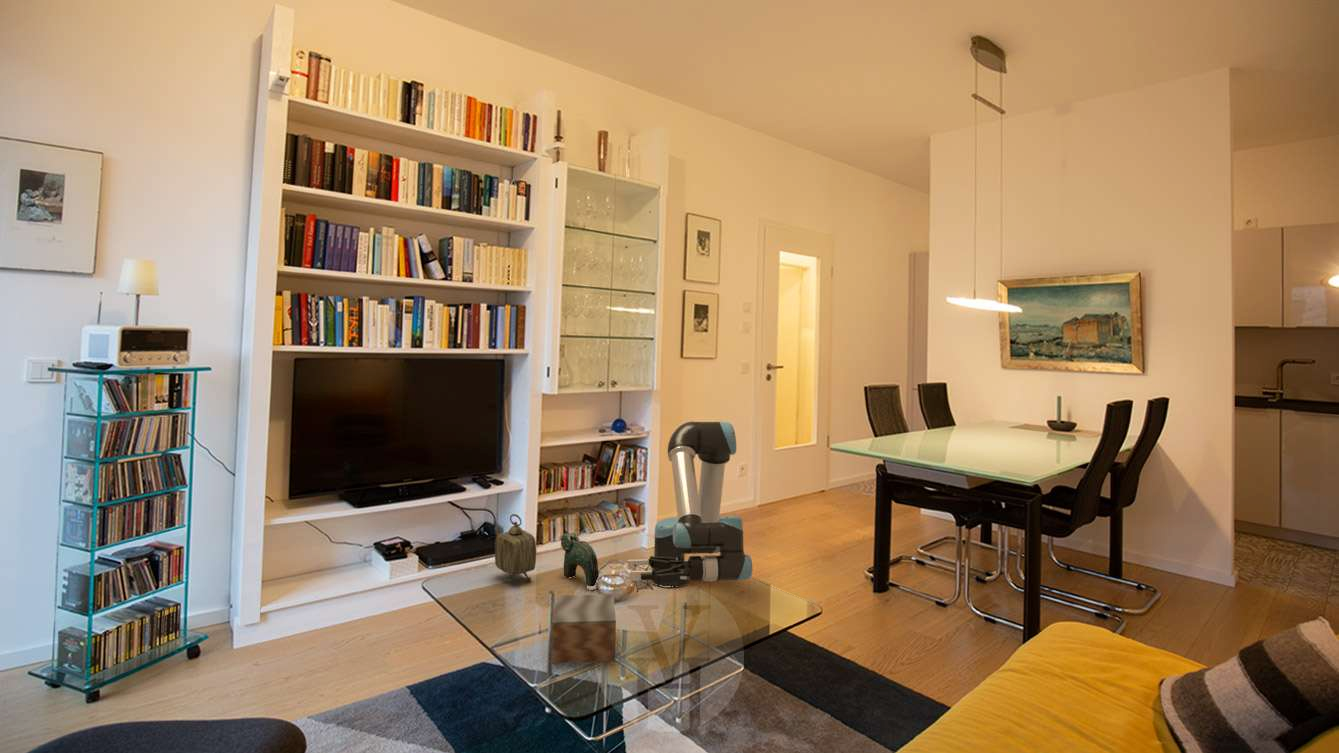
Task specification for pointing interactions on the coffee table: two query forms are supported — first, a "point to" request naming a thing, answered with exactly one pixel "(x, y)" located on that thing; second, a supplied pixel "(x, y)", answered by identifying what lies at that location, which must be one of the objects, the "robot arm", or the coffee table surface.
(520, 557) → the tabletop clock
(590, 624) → the walnut crate
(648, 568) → the geometric polyhedron ornament
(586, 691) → the coffee table surface
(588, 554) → the green elephant figurine
